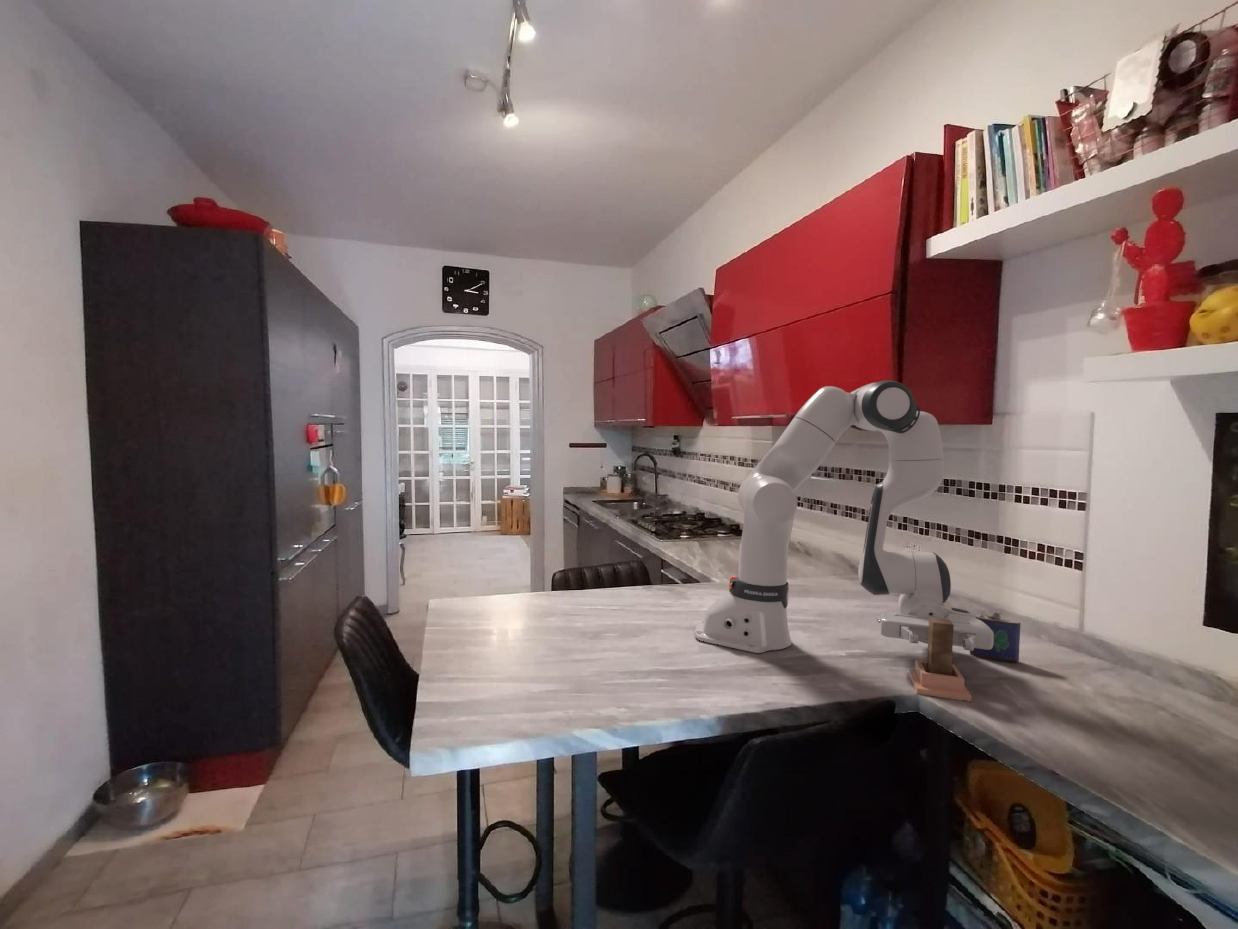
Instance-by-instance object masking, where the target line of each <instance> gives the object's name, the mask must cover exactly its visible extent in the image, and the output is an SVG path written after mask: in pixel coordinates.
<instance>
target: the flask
mask: <svg viewBox="0 0 1238 929" xmlns="http://www.w3.org/2000/svg"><path fill="white" fill-rule="evenodd" d="M1000 615H1001V611H998V610H993V614H990V615H989V614H984V615H983V613H980V614H975V616H976V619H979V620H981V621H983V622H984V623H985V624H986V625H987V626H988V627H989V628H990V629H991V630H992V631H993V634H994V642H993V648H992V649H990V650H985V649H978V648H974V650H973V651H970V650H969V655H970V656H973V657H975V656H976V658H979V657H980V659H986V660H992V661H998V662H1005V663H1010V662H1011V663H1010V664H1012V663H1015V664H1018V663H1019V661H1020V640H1021V625H1022V624H1021V623H1022V622H1020V621H1017V620H1013V619H1005V618H1002V617H1001V616H1000Z"/></svg>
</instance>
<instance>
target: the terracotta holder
mask: <svg viewBox="0 0 1238 929" xmlns="http://www.w3.org/2000/svg"><path fill="white" fill-rule="evenodd" d="M914 665H915V666H914V668H908V672H907V673H908V675H909V678H910V680H911V683H912V685H913V688H914V691H915V693H916V694H917V695H924V696H932V697H937V698H945V699H949V700H950V699H951V700H956V699H958V700H957V701H962V700H968V701H967V702H969V701H971V702H972V699H973V697H972V695H971V693H970V691H969V690H968V688H967V687H966V685H965V678H964V676H963V674H962V673H961V672H960V670H959V669H958V667H957V666H956V664H952V666H951V676H949V675H942V674H935V673H928V672H927V660H926V661H925V660H919V659H915V664H914Z"/></svg>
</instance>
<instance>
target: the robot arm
mask: <svg viewBox="0 0 1238 929" xmlns="http://www.w3.org/2000/svg"><path fill="white" fill-rule="evenodd" d="M849 428H853V429H855V430H859V431H862V432H863V431H864V432H866V431H867V432H869V431H870V432H881V433H882V434H883V435H884V437H885V439H886V442H887V445H888V469H887V472H886V475H885V477H884V478H883V479H882V481H880V482H879V483H876V485H875V487H874V489H873V491H872V497H871V501H870V507H869V512H868V518H867V525H866V531H865V538H864V544H863V550H862V555H861V558H860V561H859V564H858V572H857V574H858V580H859V584H860V586H862V588H864V590H866V591H867V592H868V593H870V594H872V595H874V596H880V595H881V596H884V595H899V598H898V610H899V612H895V611H884V612H882V613H881V614H880V615H876V617H875V619H876V621H877V622H878V623H879V624H880V630H879V631H880V635H881V636H883V637H886V638H891V639H892V638H893V639H901V640H906V641H908V643H909V644H919V642H920V643H923V644H926V645H928V634H929V617H932V618H941V619H949V620H950V621H951V622H952V623H953V625H954V629H953V646H955V647H957V646H958V647H962V648H963V650H965V651H969V652H970V651H973V650H974V648H978V649H985V650H990V649H992V648H993V642H994V634H993V631H992V630H991V629H990V628H989V627H988V626H987V625H986V624H985V623H984V622H983V621H981V620H979V619H976V616H975V615H976V613H975V612H973V611H969V610H965V609H961V608H955V607H952V606H949V605H947V604H945V603H946V602H947V601H948V599H949V597H951V596H950V595H951V589H952V587H951V586H952V585H951V584H952V583H951V575H950V571H949V568H948V566H947V563H946V562H945V561H944V560H943V559H942V558H941V557H940V555H938V554H937V553H935V552H932V551H909V552H907V551H886V550H884V545H885V539H886V531H887V527H888V526H887V524H888V520H889V517H890V516H891V514H892V513H893V512H894V511H895V510H897V509H898V508H900V507H902V506H905V505H908V504H910V503H914V502H917V501H920V500H921V499H924V498H926V497H928V496H930V495H931V494H933V493H934V492H935V491H937V490H938V489H939V487H940V485H941V484H942V482H943V479H944V478H943V476H944V469H945V468H944V463H945V462H944V448H943V441H942V436H941V430H940V426H939V423H938V420H937V418H936V417H935V416H934V415H933V414H931V413H929V412H926V411H921V408H920V406H919V405H918V403H917V402H916V399H915V397H914V395H913V393H912V392H911V389H910V388H908V387H907V386H906V385H905V384H903V383H901V382H899V381H895V380H887V379H886V380H881V381H878V382H871V383H867V384H865V385H863V386H860V387H859V388H856V389H853V390H852V391H850V392H849V391H848V392H847V391H845V390H844V389H843V388H840V387H837V386H833V385H832V386H831V385H830V386H827V385H826V386H823V387H821V388H819V389H818V390H817V391H816V392H815V393H814V394H813V395H811V397H810V398H809V399H808V400H807V401H806V402H805V403H804V405H802V407H801V408H800V409H799V410H798V411H797V413H796V414H795V415H794V417H793V418H792V420H791V421H790V423H789V424H788V425H787V427H786V428H785V429H784V431H783V432H782V434H781V435H780V437H778V439H777V441H776V442H775V444H774V445H773V446H772V447H771V448H770V449H769V450H768V452H767V453H766V454H765V455H764V456H763V457H762V458H761V459H760V460H759V461H758V463H757V464H756V465H755V467H754V468H753V469H752V470H751V472H750V473H749V474H748V475H747V476H746V478H745V479H744V480H743V481H742V483H741V484H740V486H739V488H738V491H737V492H738V493H737V499H738V500H737V501H738V504H739V506H740V508H741V509H742V511H743V512H744V514H743V526H742V532H741V539H740V543H739V550H738V552H739V554H738V576H737V575H732V576H731V577H730V578H729V585H728V586H729V588H728V589H729V592H728V593H727V594H725V595H724V596H722V597H721V598H720V599H719V598H718V600H716V601H714V602H713V603H712V604H710V605H709V607H708V608H707V610H706V613H705V617H704V620H703V621H701V622H699V623H698V624H697V625H696V627H695V629H694V633H693V636H694V635H695V636H694V638H695V639H696V638H697V639H698V640H697V639H696V640H697V641H699V640H700V642H703V641H704V642H705V643H709V644H714V645H717V644H718V646H723V647H727V648H732V649H736V650H741V651H746V652H751V653H754V654H755V653H756V654H761V653H765V652H768V651H777V650H783V649H785V648H788V647H790V646H791V645H792V639H791V635H790V630H789V628H790V627H789V622H788V616H787V615H788V614H787V613H788V611H787V610H788V608H787V607H788V606H789V605H788V604H789V599H790V598H789V595H790V593H789V592H790V588H789V582H788V581H787V580H788V554H789V547H790V546H789V545H790V541H791V540H790V539H791V535H792V531H793V524H794V518H795V513H796V511H797V507H798V501H797V496H796V494H795V491H796V490H797V489H798V488H799V487H800V486H801V485H802V484H804V482H805V481H806V480H807V479H808V478H809V477H810V476H812V475H813V474H814V473H815V472H816V471H817V470H818V469H819V468H820V466H821V465H822V463H823V462H824V460H825V459H826V458H827V456H828V454H829V453H830V452H831V451H832V449H833V448H834V446H835V445H836V444H837V442H838V441H839V440H840V438H841V436H843V435H842V434H843V433H844V432H845V431H847V430H848V429H849ZM704 642H703V643H704Z"/></svg>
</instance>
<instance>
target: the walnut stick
mask: <svg viewBox="0 0 1238 929" xmlns="http://www.w3.org/2000/svg"><path fill="white" fill-rule="evenodd" d="M953 629H954V625H953V623H952V622H951V621H950V620H949V619H941V618H932V617H929V634H928V644H927V654H926V655H927V658H926V661H927V672H928V673H935V674H942V675H949V676H951V666H952V665H953V646H954V645H953Z"/></svg>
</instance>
